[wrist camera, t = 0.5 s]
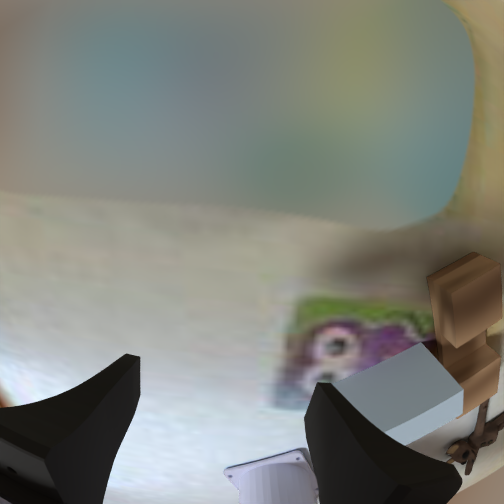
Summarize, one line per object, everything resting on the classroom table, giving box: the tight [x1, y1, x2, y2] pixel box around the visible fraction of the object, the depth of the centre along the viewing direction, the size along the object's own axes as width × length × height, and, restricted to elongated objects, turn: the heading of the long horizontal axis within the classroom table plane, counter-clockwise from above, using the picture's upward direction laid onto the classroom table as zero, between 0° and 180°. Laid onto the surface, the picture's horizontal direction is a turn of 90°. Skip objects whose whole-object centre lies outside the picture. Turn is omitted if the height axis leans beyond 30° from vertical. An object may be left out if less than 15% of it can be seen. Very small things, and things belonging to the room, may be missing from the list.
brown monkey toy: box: [446, 399, 504, 475], centre depth 26 cm, size 18×4×14 cm
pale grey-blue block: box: [332, 342, 464, 445], centre depth 20 cm, size 3×9×7 cm, turn 113°
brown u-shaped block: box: [427, 252, 502, 419], centre depth 21 cm, size 14×5×4 cm, turn 23°
